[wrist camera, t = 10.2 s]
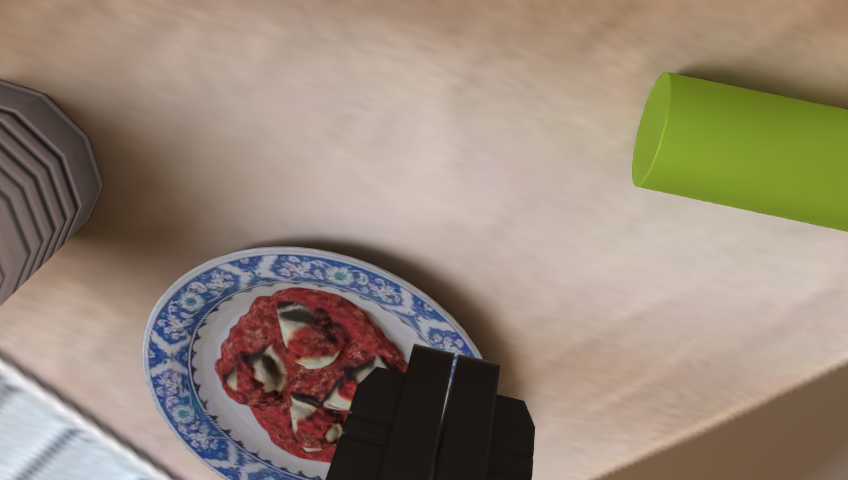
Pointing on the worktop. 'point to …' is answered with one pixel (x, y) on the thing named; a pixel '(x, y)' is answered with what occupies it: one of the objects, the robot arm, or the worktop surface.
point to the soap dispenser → (744, 150)
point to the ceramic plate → (281, 354)
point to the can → (40, 183)
